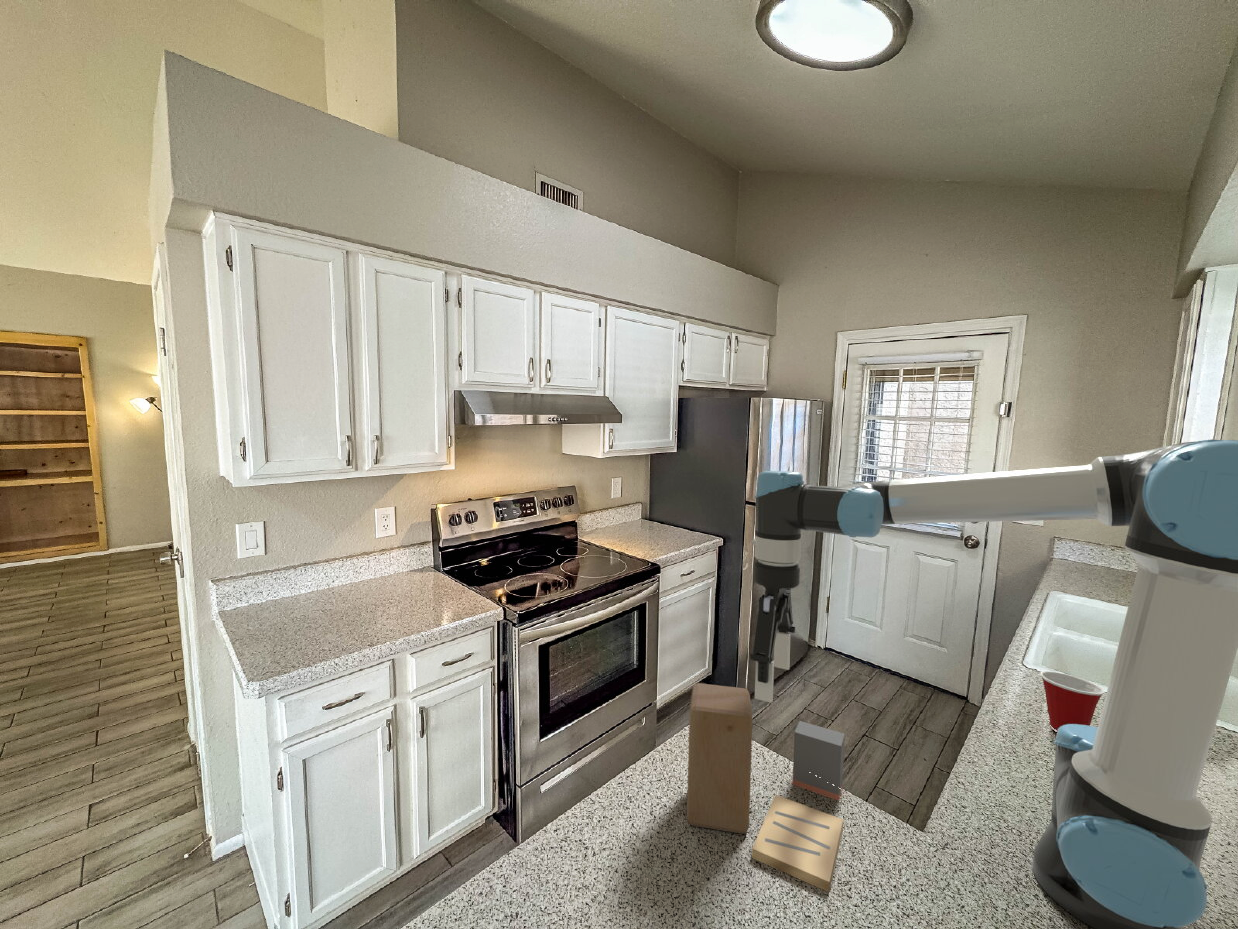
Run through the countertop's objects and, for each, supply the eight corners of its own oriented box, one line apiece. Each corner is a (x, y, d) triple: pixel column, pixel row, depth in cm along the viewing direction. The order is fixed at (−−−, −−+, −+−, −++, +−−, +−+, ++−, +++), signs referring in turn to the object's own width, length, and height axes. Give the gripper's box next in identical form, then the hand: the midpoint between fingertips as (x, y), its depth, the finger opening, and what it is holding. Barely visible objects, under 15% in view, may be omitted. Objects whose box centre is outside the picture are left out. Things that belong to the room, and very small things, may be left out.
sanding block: (842, 786, 94) (844, 734, 94) (839, 801, 90) (841, 746, 90) (797, 771, 98) (799, 720, 98) (792, 784, 94) (794, 732, 94)
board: (842, 828, 84) (843, 819, 84) (829, 892, 72) (829, 882, 72) (775, 802, 89) (775, 794, 89) (752, 858, 77) (752, 848, 77)
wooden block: (749, 838, 81) (753, 716, 80) (686, 827, 83) (689, 708, 82) (746, 795, 91) (749, 686, 90) (690, 787, 93) (692, 680, 92)
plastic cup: (1114, 743, 110) (1118, 688, 109) (1079, 750, 107) (1082, 695, 106) (1058, 716, 120) (1061, 667, 119) (1025, 723, 117) (1028, 672, 116)
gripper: (771, 546, 100) (767, 652, 101) (734, 574, 78) (730, 709, 79) (811, 550, 96) (807, 660, 97) (784, 581, 74) (780, 722, 75)
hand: (773, 682), depth 88 cm, fingers open, 13 cm apart
